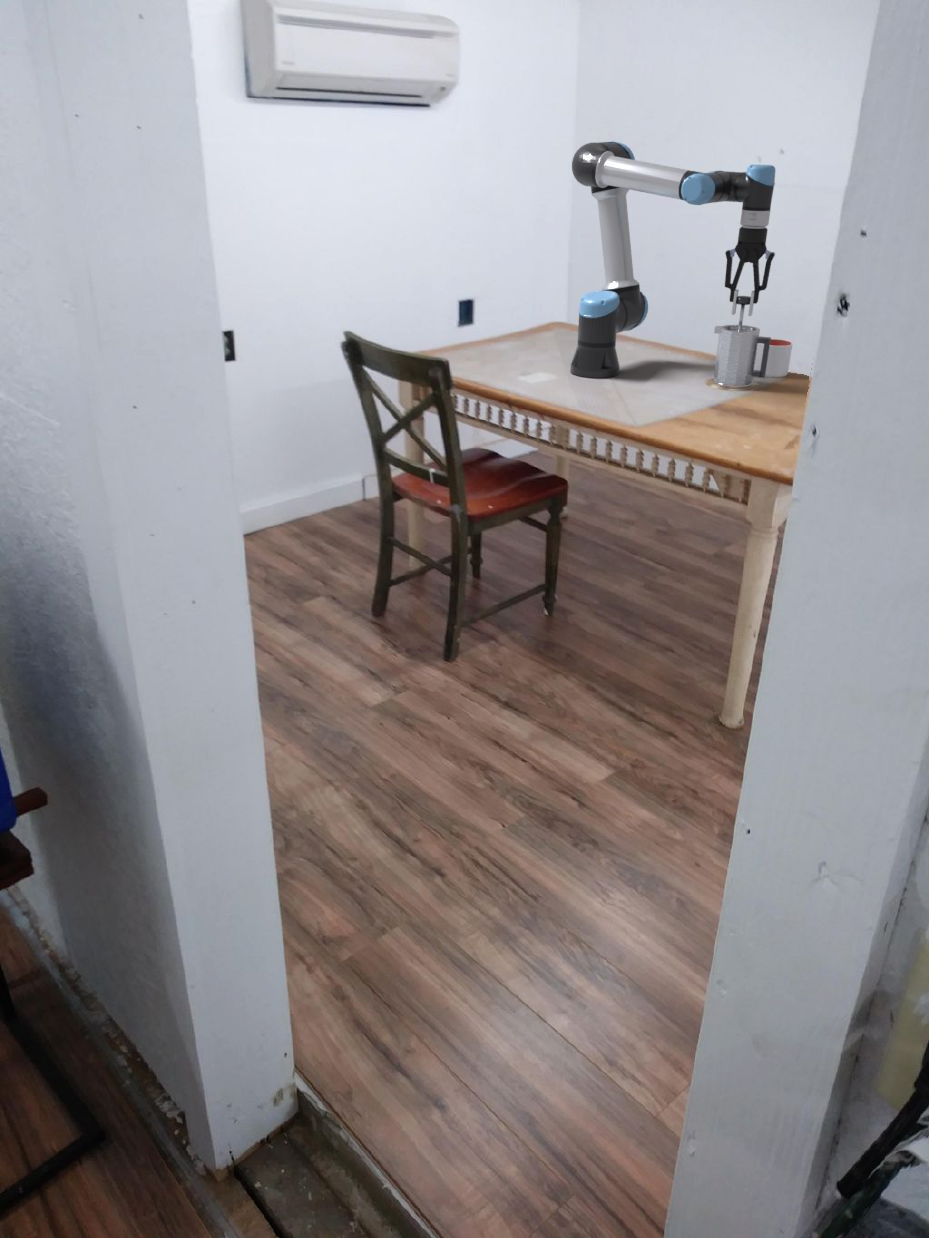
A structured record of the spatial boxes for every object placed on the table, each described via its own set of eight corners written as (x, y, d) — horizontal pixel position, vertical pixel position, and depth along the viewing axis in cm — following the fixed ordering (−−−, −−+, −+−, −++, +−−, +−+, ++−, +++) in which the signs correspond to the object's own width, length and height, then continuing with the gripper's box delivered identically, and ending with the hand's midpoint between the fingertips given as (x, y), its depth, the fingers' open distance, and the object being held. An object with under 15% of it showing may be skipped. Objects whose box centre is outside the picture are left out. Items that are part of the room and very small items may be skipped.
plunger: (722, 337, 275) (727, 298, 270) (727, 331, 282) (731, 293, 277) (751, 339, 273) (756, 300, 268) (754, 334, 279) (760, 295, 274)
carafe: (705, 385, 282) (712, 330, 274) (711, 377, 291) (718, 323, 283) (760, 391, 276) (769, 334, 269) (765, 382, 285) (773, 327, 278)
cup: (788, 380, 291) (794, 346, 286) (754, 378, 292) (759, 345, 288) (785, 372, 299) (790, 339, 295) (752, 370, 301) (757, 338, 296)
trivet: (700, 389, 280) (700, 387, 280) (709, 377, 293) (709, 375, 293) (756, 395, 275) (756, 393, 275) (763, 382, 288) (763, 380, 288)
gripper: (720, 226, 263) (709, 314, 274) (784, 229, 258) (770, 319, 269) (724, 224, 269) (713, 310, 280) (787, 226, 264) (773, 314, 275)
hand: (741, 314), depth 274 cm, fingers closed on plunger, 4 cm apart
